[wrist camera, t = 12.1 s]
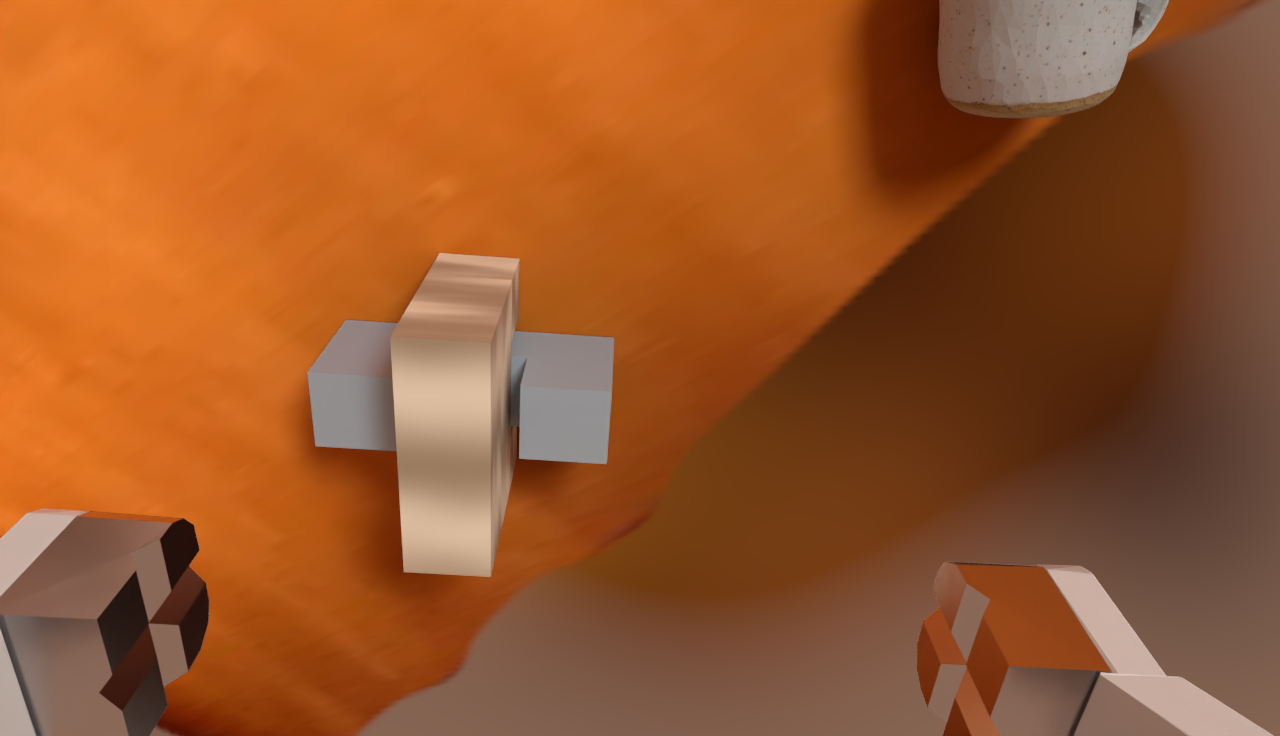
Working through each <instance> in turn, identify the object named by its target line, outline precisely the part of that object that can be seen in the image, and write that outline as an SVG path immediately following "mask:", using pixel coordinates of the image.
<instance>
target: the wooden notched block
mask: <svg viewBox="0 0 1280 736" xmlns="http://www.w3.org/2000/svg"><path fill="white" fill-rule="evenodd" d="M519 261H520V259H518V258H503V257H489V256H475V255H461V254H446V253H439V255H438V257H437V258H436V260H435V262H434V263H433V265H432V267H431V268H430V270H429V272H428V274H427V275H426V277H425V279H424V280H423V282H422V284H421V285H420V287H419V289H418V290H417V292H416V294H415V295H414V297H413V299H412V301H411V302H410V304H409V306H408V307H407V309H406V311H405V312H404V314H403V316H402V317H401V319H400V321H399V322H398V324H397V326H396V328H395V329H394V331H393V333H392V334H391V336H390V345H391V362H392V379H393V396H394V413H395V430H396V447H397V465H398V482H399V499H400V516H401V533H402V550H403V568H404V572H411V573H429V574H447V575H466V576H484V577H491V573H492V569H493V564H494V560H495V555H496V551H497V546H498V541H499V537H500V532H501V528H502V523H503V519H504V514H505V509H506V505H507V500H508V496H509V491H510V487H511V482H512V477H513V473H514V468H515V464H516V459H517V426H511V342H512V339H513V335H514V332H515V328H516V325H517V322H518V318H519Z"/></svg>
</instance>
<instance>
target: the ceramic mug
mask: <svg viewBox="0 0 1280 736" xmlns="http://www.w3.org/2000/svg"><path fill="white" fill-rule="evenodd" d="M1168 2H1169V0H939V11H940V22H939V40H938V70H939V77H940V84H941V89H942V92H943V95H944V98H945V99H946V100H947V101H948V102H949V103H950V104H951V105H952V106H954V107H955V108H957V109H958V110H960V111H963V112H966V113H969V114H974V115H979V116H984V117H995V118H1038V117H1050V116H1057V115H1063V114H1068V113H1073V112H1077V111H1081V110H1085V109H1088V108H1091V107H1093V106H1095V105H1097V104H1099V103H1100V102H1102V101H1103V100H1105V99H1106V98H1107V97H1108V96H1109V95H1110V94H1112V93H1113V92H1114V90H1115V88H1116V86H1117V84H1118V82H1119V79H1120V77H1121V74H1122V72H1123V69H1124V66H1125V63H1126V59H1127V55H1128V52H1130V51H1132V50H1133V49H1134V48H1136V47H1137V46H1138V45H1140V44H1141V43H1143V42H1144V41H1145V40H1146V39H1147V37H1148V36H1149V35H1150V34H1151V32H1152V31H1153V30H1154V28H1155V27H1156V25H1157V24H1158V22H1159V20H1160V19H1161V17H1162V16H1163V14H1164V11H1165V9H1166V7H1167V4H1168Z"/></svg>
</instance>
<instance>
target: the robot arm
mask: <svg viewBox="0 0 1280 736" xmlns="http://www.w3.org/2000/svg"><path fill="white" fill-rule="evenodd" d="M198 552H199V545H198V541H197V537H196V533H195V529H194V525H193V524H191V523H190V522H188V521H187V520H185V519H184V518H174V517H161V516H148V515H136V514H123V513H110V512H97V511H90V512H85V511H77V510H62V509H48V508H42V509H39V510H35V511H32V512H28V513H27V514H26V515H24V516H23V517H22V518H21V519H20V520H19V521H18V522H17V523H16V524H15V525H14V526H13V527H12V528H11V529H10V530H9V531H8V532H7V533H6V534H4V535H3V536H2V537H1V538H0V736H150V734H151V732H152V731H153V729H154V727H155V726H156V724H157V722H158V721H159V719H160V717H161V716H162V714H163V713H164V711H165V709H166V708H167V706H168V704H167V700H166V695H165V691H164V686H166V685H168V684H169V683H171V682H172V681H174V680H175V679H177V678H179V677H180V676H182V675H183V674H185V673H186V672H188V671H189V669H190V667H191V666H192V664H193V662H194V660H195V659H196V657H197V655H198V653H199V651H200V650H201V646H202V643H203V639H204V636H205V632H206V629H207V625H208V617H209V598H208V592H207V586H206V583H205V582H204V581H203V580H202V579H201V578H200V577H199V576H198V575H197V574H196V573H195V572H194V571H193V570H192V569H191V568H190V567H189V565H190V563H191V562H192V560H193V559H194V557H195V556H196V554H197V553H198ZM932 590H933V593H934V595H935V597H936V599H937V602H938V604H939V606H940V608H938V609H937V610H936V611H935V612H934V613H932V614H931V615H930V616H929V617H927V618H926V619H925V620H924V621H923V624H922V628H921V632H920V636H919V641H918V645H917V646H918V647H917V671H918V676H919V681H920V686H921V690H922V693H923V696H924V698H925V701H926V704H927V707H928V708H929V709H930V710H931V711H932V712H934V713H935V714H936V715H937V716H938V717H939V718H940V719H942V720H943V721H944V722H945V723H946V727H945V730H944V734H943V736H1273V735H1272V734H1270V733H1268V732H1267V731H1265V730H1264V729H1262V728H1261V727H1259V726H1257V725H1256V724H1254V723H1252V722H1251V721H1250V720H1248V719H1246V718H1245V717H1243V716H1242V715H1240V714H1238V713H1237V712H1235V711H1234V710H1232V709H1231V708H1229V707H1227V706H1226V705H1224V704H1223V703H1221V702H1219V701H1218V700H1217V699H1215V698H1213V697H1212V696H1210V695H1209V694H1207V693H1206V692H1204V691H1202V690H1201V689H1199V688H1198V687H1196V686H1194V685H1193V684H1191V683H1190V682H1188V681H1187V680H1185V679H1183V678H1182V677H1172V676H1166V675H1165V673H1164V672H1163V671H1162V669H1161V668H1160V666H1159V665H1158V664H1157V662H1156V661H1155V660H1154V658H1153V657H1152V656H1151V654H1150V652H1149V651H1148V650H1147V648H1146V647H1145V646H1144V644H1143V643H1142V642H1141V640H1140V639H1139V637H1138V636H1137V635H1136V633H1135V632H1134V630H1133V629H1132V628H1131V626H1130V625H1129V623H1128V622H1127V621H1126V619H1125V618H1124V617H1123V615H1122V614H1121V612H1120V611H1119V610H1118V608H1117V607H1116V605H1115V604H1114V603H1113V601H1112V600H1111V599H1110V597H1109V596H1108V594H1107V593H1106V592H1105V590H1104V589H1103V588H1102V586H1101V585H1100V583H1099V582H1098V581H1097V579H1096V578H1095V576H1094V575H1093V574H1092V573H1091V572H1090V571H1088V570H1087V569H1085V568H1083V567H1081V566H1064V565H1035V566H1024V565H1005V564H986V563H985V564H984V563H965V562H947V561H946V562H945V563H944V564H943V566H942V567H941V568H940V570H939V571H938V573H937V577H936V580H935V583H934V586H933V589H932Z"/></svg>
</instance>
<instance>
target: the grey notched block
mask: <svg viewBox="0 0 1280 736" xmlns="http://www.w3.org/2000/svg"><path fill="white" fill-rule="evenodd" d="M397 324H398V323H387V322H372V321H357V320H345V322H344V323H343V324H342V326H341V327H340V328H339V330H338V331H337V333H336V334H335V335H334V337H333V338H332V339H331V341H330V342H329V344H328V345H327V346H326V348H325V349H324V350H323V352H322V353H321V354H320V356H319V357H318V359H317V360H316V361H315V363H314V364H313V365H312V367H311V368H310V370H309V371H308V372H307V373H308V383H309V392H310V401H311V411H312V420H313V429H314V438H315V446H318V447H334V448H351V449H367V450H383V451H397V447H396V430H395V413H394V396H393V379H392V362H391V345H390V336H391V334H392V333H393V331H394V329H395V328H396V326H397ZM613 355H614V338H612V337H597V336H582V335H567V334H552V333H537V332H522V331H515V332H514V335H513V339H512V342H511V426H518V427H520V436H519V459H532V460H548V461H565V462H581V463H597V464H607V453H608V439H609V425H610V411H611V397H612V377H613Z"/></svg>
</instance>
